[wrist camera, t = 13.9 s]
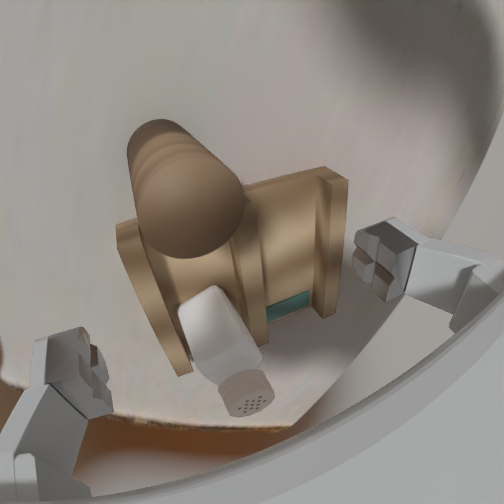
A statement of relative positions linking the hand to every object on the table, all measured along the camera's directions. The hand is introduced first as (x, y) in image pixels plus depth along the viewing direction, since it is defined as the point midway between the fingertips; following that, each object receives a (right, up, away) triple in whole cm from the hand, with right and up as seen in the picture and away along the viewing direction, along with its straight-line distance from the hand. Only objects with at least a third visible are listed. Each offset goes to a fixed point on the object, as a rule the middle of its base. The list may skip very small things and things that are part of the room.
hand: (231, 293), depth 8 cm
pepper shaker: (-3, -3, +17) cm, 17 cm away
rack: (0, 0, +17) cm, 17 cm away
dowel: (-5, +7, +10) cm, 13 cm away
